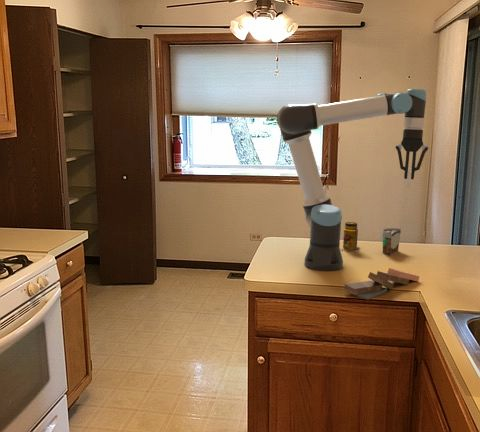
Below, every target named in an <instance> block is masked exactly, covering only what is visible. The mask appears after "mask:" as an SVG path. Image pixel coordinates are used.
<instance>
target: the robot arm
mask: <svg viewBox="0 0 480 432" xmlns="http://www.w3.org/2000/svg"><path fill="white" fill-rule="evenodd" d="M426 105H427V90H425V89H422V88H409V89H407V90H406V92H403V91H402V92H395V93H385V92H384V93H378V94H376V96H372V97H371V96H370V97H364V98H357V99H351V100H346V101H339V102H332V103H326V104H320V105H317V103H307V104H306V103H305V104H298V103H289V104H286V105H284V106H282V107H281V109H279V111H278V113H277V117H276V123H277V126H278V128H279V130H280V133H281V137H282V139H283V142H284V143H286V144H287V145H288V147H289V150H290V154H291V157H292V161H293V163H294V167H295V170H296V174H297V178H298V181H299V184H300V188H301V191H302V194H303V197H304V200H303V202H302V207H303V211H304V214H305V221H306V223H307V224H308V227H309V228H310V231H309V232H310V234H309V246H308V249H307V252H306V254H305V257H304V262H303V263H304V266H305V267H306V268H308V269H311V270H317V271H329V272H330V271H332V272H333V271H339V270H341V269H342V268H343V267H344V260H343V256H342V252H341V251H342V250H341V248H340V245H341V243H340V242H341V231H342V228H341V227H342V217H343V215H342V210H341V208H340V207H338V206H335V205H333V203H332V200H331V196H330V195H328V194H326V192H325V189H324V185H323V183H322V179H321V174H320V171H319V168H318V165H317V161H316V158H315V153H314V151H313V147H312V144H311V140H310V137H311V135H312V131H313V130H318V129H319V128H320V127H321V126H328V125H333V124H340V123H345V122H352V121H359V120H360V121H361V120H364V119H371V118H372V119H373V118H378V117H383V116H391V115H396V114H397V115H398V114H399V115H401V114H404V118H403V119H404V121H403V127H404V129H403V132H402V140H401V142H400V143H399V144H397V145H396V144H395V149H396V151H397V155H398V160H399V162H398V163H399V167H400V169H401V170H403V171H404V174H403V175H404V176H403V178H404V179H405V180H406V187H405V188H409V189H411V182H412V180H414V179H415V172H416V171H420V169H421V166H422V162H423V161H424V157H425V154H426V153H427V151H428V150H429V147H428V146H426V145H424V142H423V137H424V130H423V128H424V124H425V114H426V113H425V112H426ZM402 148H403V149H404V151H406V152H405V163H403V155H402V151H401V150H402ZM419 150H421V153H420V157H419V159H418V162H417V164H416V158H417V152H418V151H419ZM411 153H412V158H411V159H412V161H411V170H409V163H410V155H411ZM404 164H405V165H404Z"/></svg>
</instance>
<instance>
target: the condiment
mask: <svg viewBox="0 0 480 432" xmlns="http://www.w3.org/2000/svg"><path fill="white" fill-rule="evenodd" d="M344 225H345V226H344V229H343V238H342V239H343V241H342V247H343V249H344V250H342V248H340V251H345V252H357V253H358V251H359V250H360V248H361V246H358V235H359V234H358V232H359V229H358V223H357V222H353V221H347V222H345V224H344Z"/></svg>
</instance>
